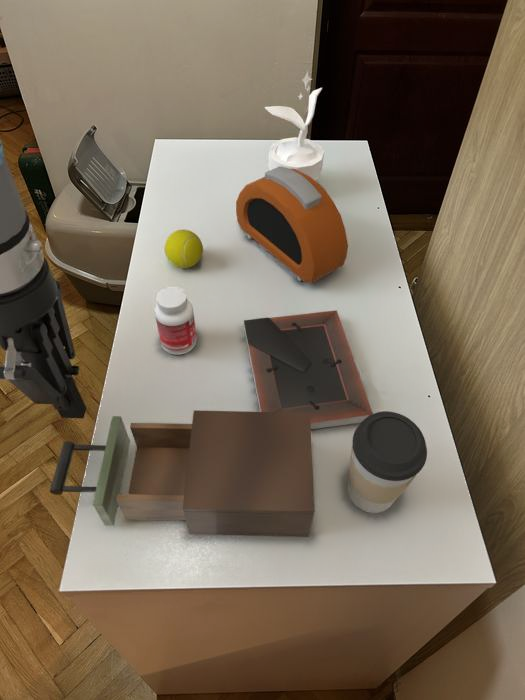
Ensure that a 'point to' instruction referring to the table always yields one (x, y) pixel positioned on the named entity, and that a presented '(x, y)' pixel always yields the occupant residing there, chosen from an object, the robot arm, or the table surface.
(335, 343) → the picture frame
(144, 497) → the drawer
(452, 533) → the table surface
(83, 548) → the table surface
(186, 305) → the pill bottle
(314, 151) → the potted plant
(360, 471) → the coffee cup
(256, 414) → the cabinet
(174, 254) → the tennis ball
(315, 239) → the alarm clock
